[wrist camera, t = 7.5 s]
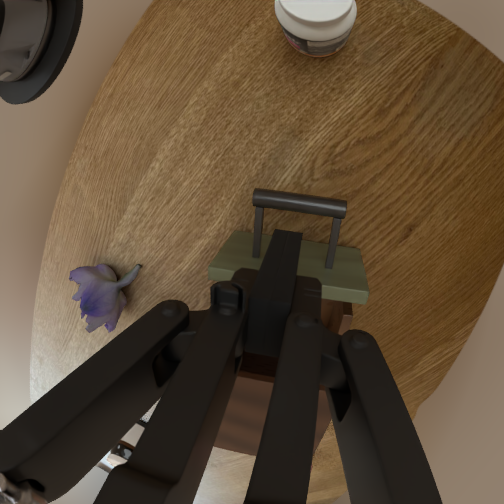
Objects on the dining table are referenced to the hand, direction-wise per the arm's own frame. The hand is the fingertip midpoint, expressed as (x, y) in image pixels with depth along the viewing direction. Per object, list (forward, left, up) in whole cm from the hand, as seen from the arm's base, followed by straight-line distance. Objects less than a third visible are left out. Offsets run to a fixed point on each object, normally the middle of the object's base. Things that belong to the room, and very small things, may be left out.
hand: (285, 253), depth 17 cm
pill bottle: (-16, 0, -13) cm, 21 cm away
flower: (+13, -22, -13) cm, 29 cm away
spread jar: (+55, -25, -13) cm, 62 cm away
